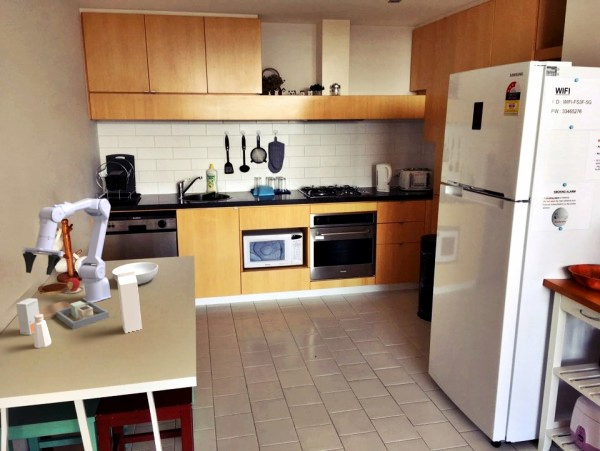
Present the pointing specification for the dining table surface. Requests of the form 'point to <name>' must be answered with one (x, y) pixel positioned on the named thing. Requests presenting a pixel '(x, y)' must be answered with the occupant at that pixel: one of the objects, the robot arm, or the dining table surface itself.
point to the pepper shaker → (41, 332)
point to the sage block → (74, 308)
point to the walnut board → (53, 309)
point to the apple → (73, 286)
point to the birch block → (85, 312)
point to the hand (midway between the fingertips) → (38, 273)
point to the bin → (102, 315)
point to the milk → (129, 301)
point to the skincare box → (27, 315)
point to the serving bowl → (138, 271)
